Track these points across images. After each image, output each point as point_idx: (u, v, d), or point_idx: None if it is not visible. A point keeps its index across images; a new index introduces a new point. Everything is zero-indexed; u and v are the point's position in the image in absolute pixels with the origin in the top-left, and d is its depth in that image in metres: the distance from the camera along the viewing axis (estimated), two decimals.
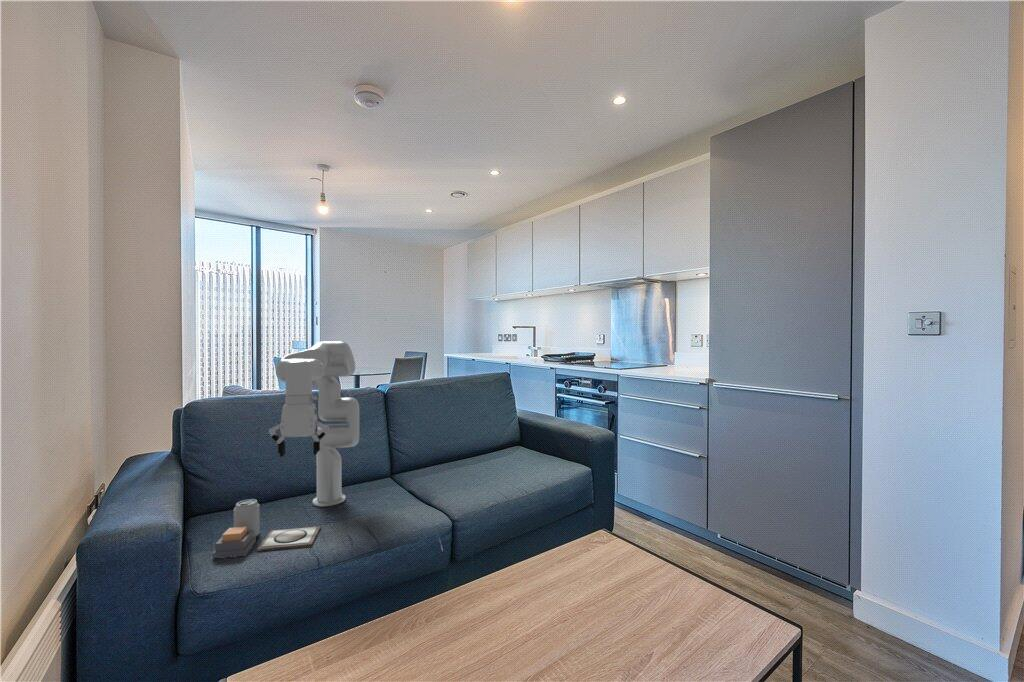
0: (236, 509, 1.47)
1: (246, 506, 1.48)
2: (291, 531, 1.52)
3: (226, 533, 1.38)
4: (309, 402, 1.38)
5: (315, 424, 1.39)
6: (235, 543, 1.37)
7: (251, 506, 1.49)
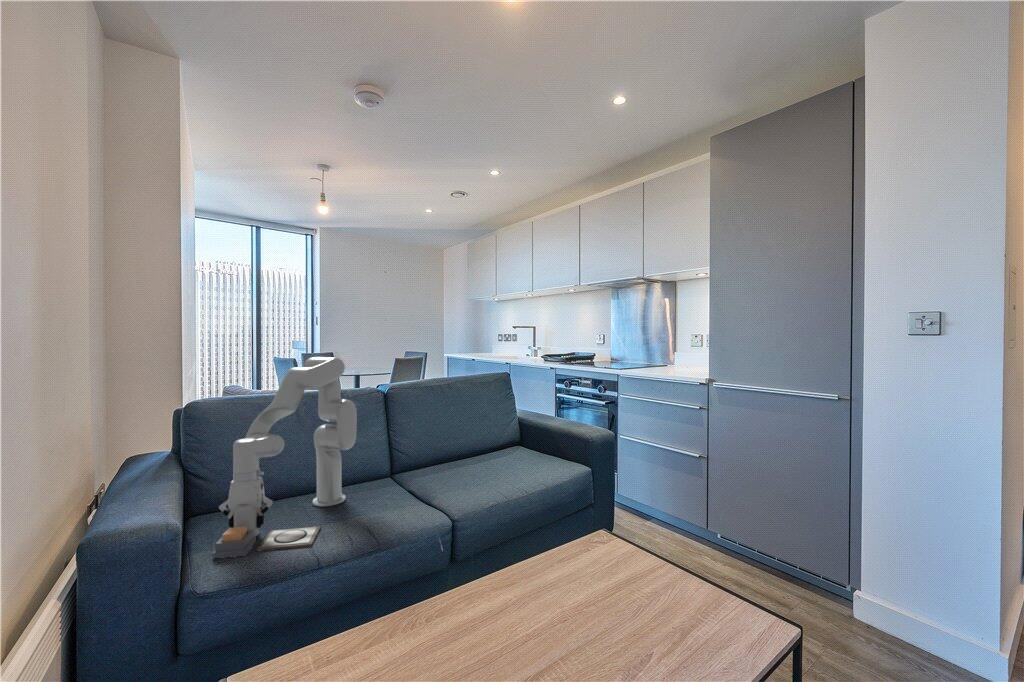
0: (235, 509, 1.47)
1: (246, 506, 1.48)
2: (291, 531, 1.52)
3: (226, 533, 1.38)
4: (255, 478, 1.49)
5: (261, 498, 1.50)
6: (235, 543, 1.37)
7: None
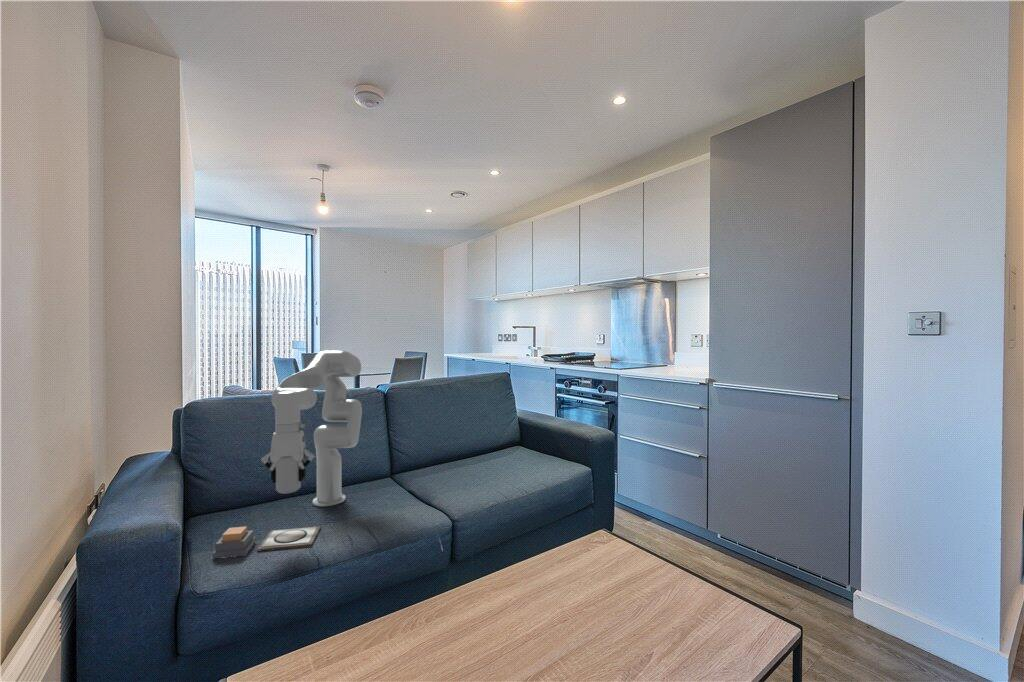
0: (278, 461, 1.45)
1: (288, 458, 1.46)
2: (291, 531, 1.52)
3: (226, 533, 1.38)
4: (297, 430, 1.48)
5: (303, 451, 1.48)
6: (235, 543, 1.37)
7: None
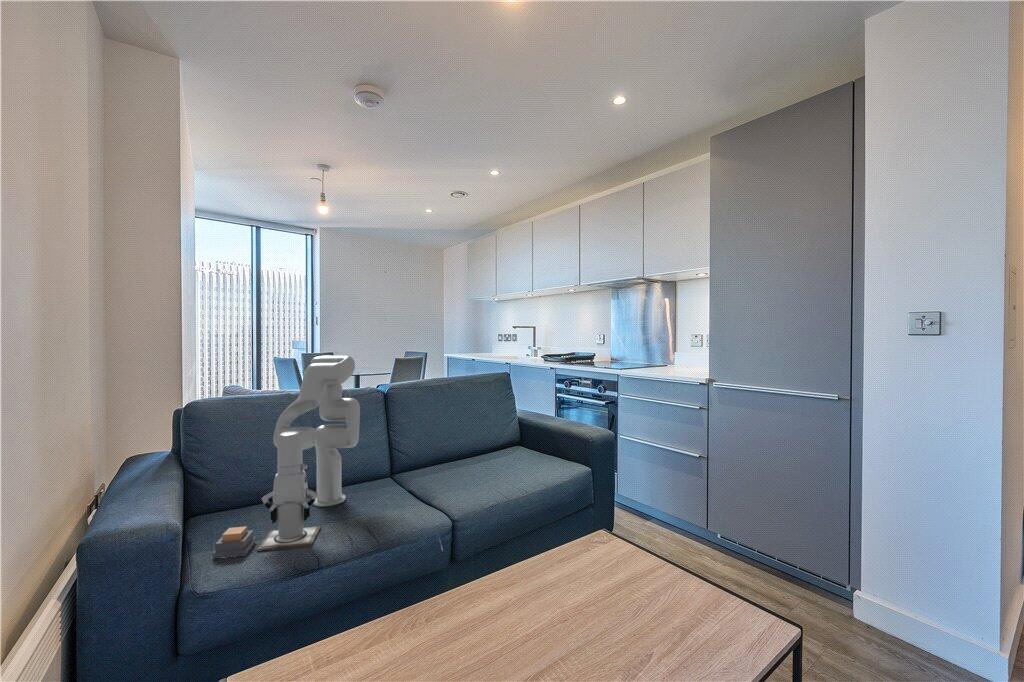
0: (281, 507, 1.46)
1: (291, 504, 1.46)
2: None
3: (226, 533, 1.38)
4: (299, 471, 1.48)
5: (305, 492, 1.48)
6: (235, 543, 1.37)
7: (296, 504, 1.47)
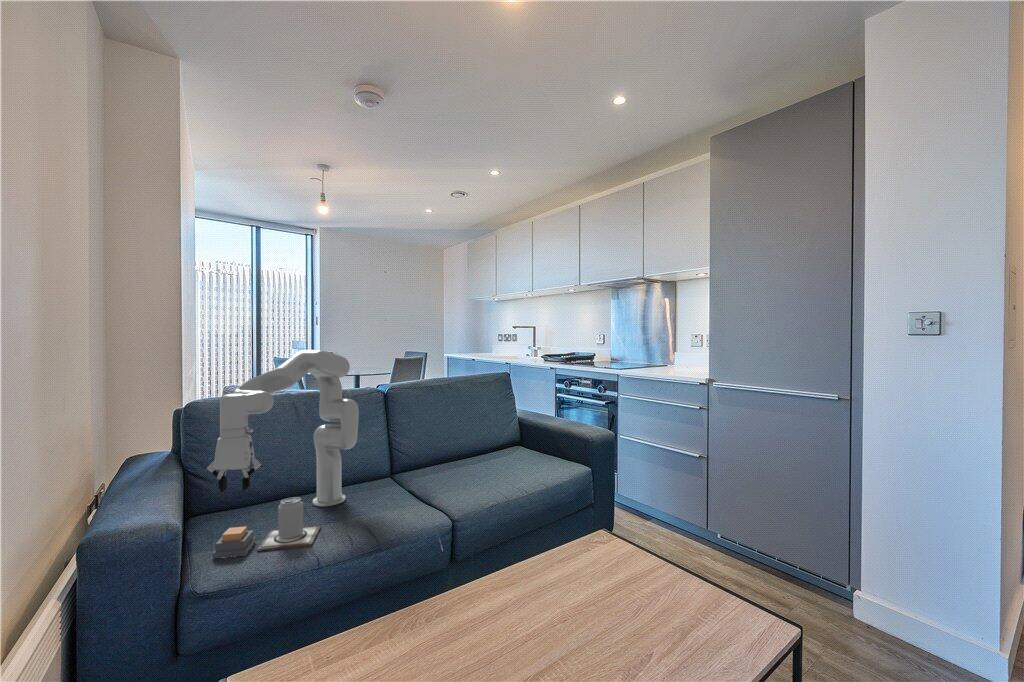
0: (281, 507, 1.46)
1: (291, 504, 1.46)
2: None
3: (226, 533, 1.38)
4: (244, 435, 1.39)
5: (250, 457, 1.40)
6: (235, 543, 1.37)
7: (296, 504, 1.47)
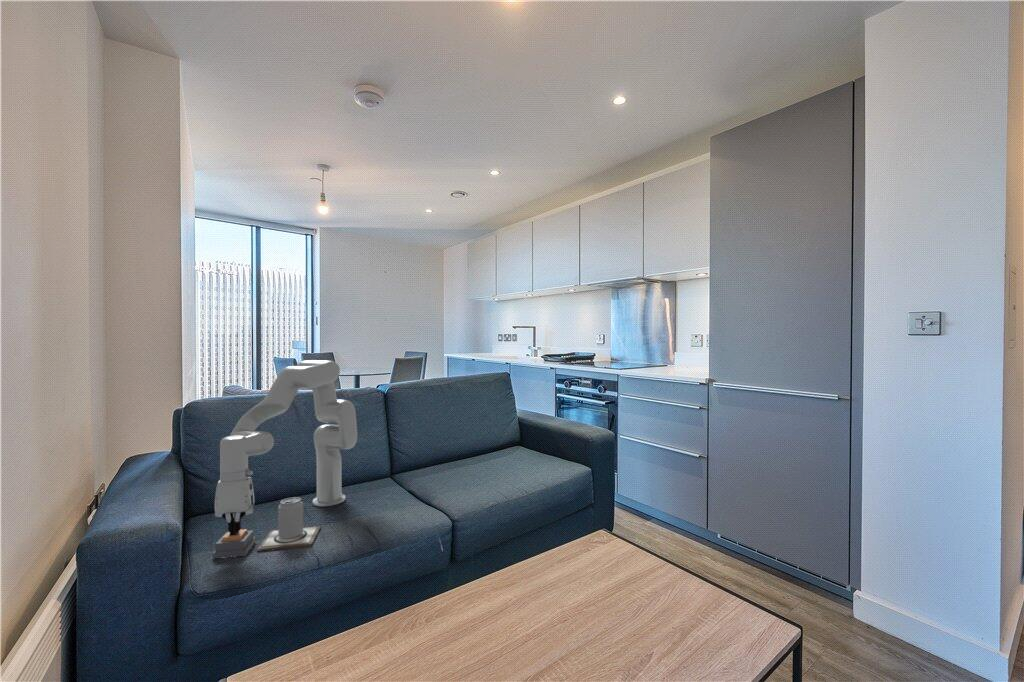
0: (281, 507, 1.46)
1: (291, 504, 1.46)
2: None
3: (226, 536, 1.38)
4: (244, 478, 1.39)
5: (250, 499, 1.40)
6: (235, 543, 1.37)
7: (296, 504, 1.47)
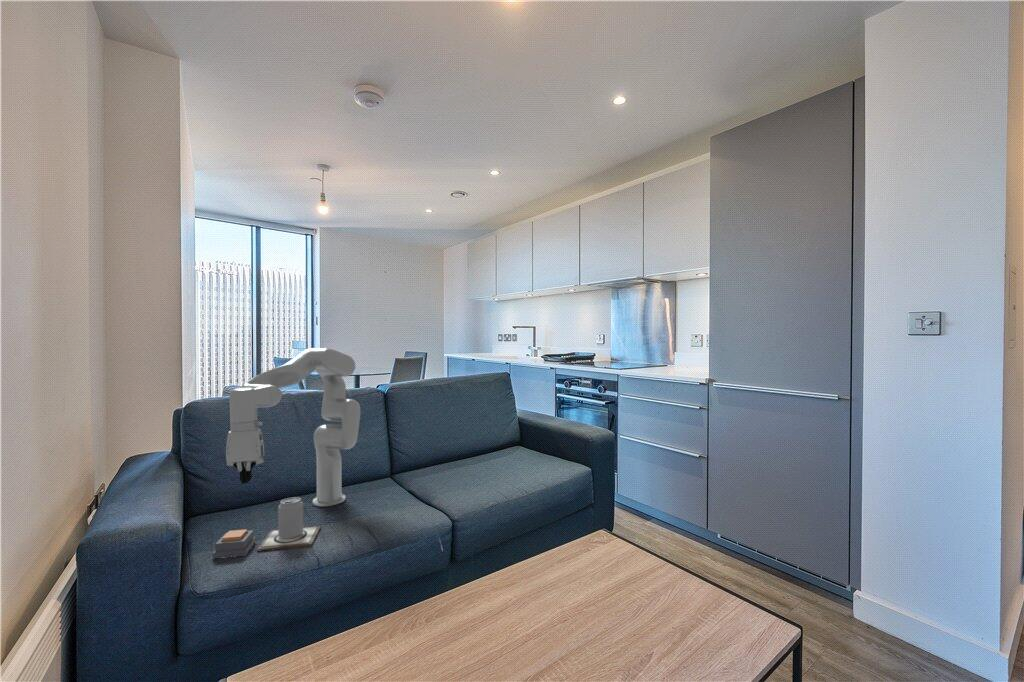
0: (281, 507, 1.46)
1: (291, 504, 1.46)
2: None
3: (226, 536, 1.38)
4: (253, 428, 1.43)
5: (260, 449, 1.44)
6: (235, 543, 1.37)
7: (296, 504, 1.47)
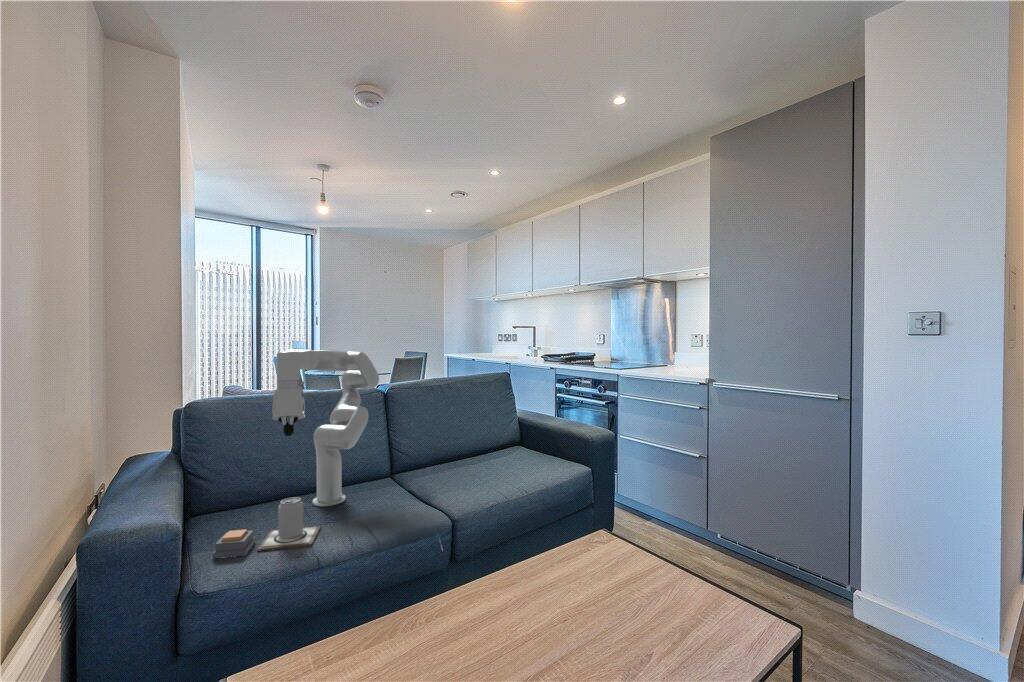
0: (281, 507, 1.46)
1: (291, 504, 1.46)
2: None
3: (226, 536, 1.38)
4: (297, 386, 1.60)
5: (302, 406, 1.61)
6: (235, 543, 1.37)
7: (296, 504, 1.47)
